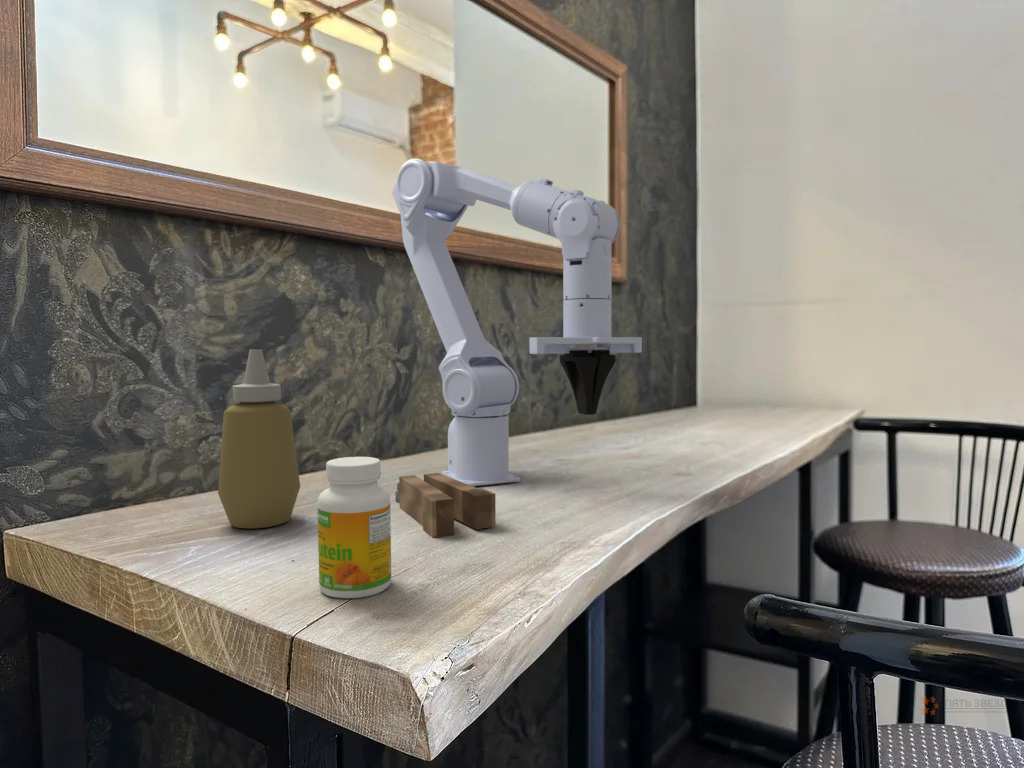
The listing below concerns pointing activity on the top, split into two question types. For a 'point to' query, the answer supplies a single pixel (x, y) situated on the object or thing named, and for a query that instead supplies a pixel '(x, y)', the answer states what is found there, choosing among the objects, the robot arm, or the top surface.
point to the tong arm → (466, 500)
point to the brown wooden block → (426, 505)
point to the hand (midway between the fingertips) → (587, 413)
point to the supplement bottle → (354, 530)
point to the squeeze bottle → (258, 452)
